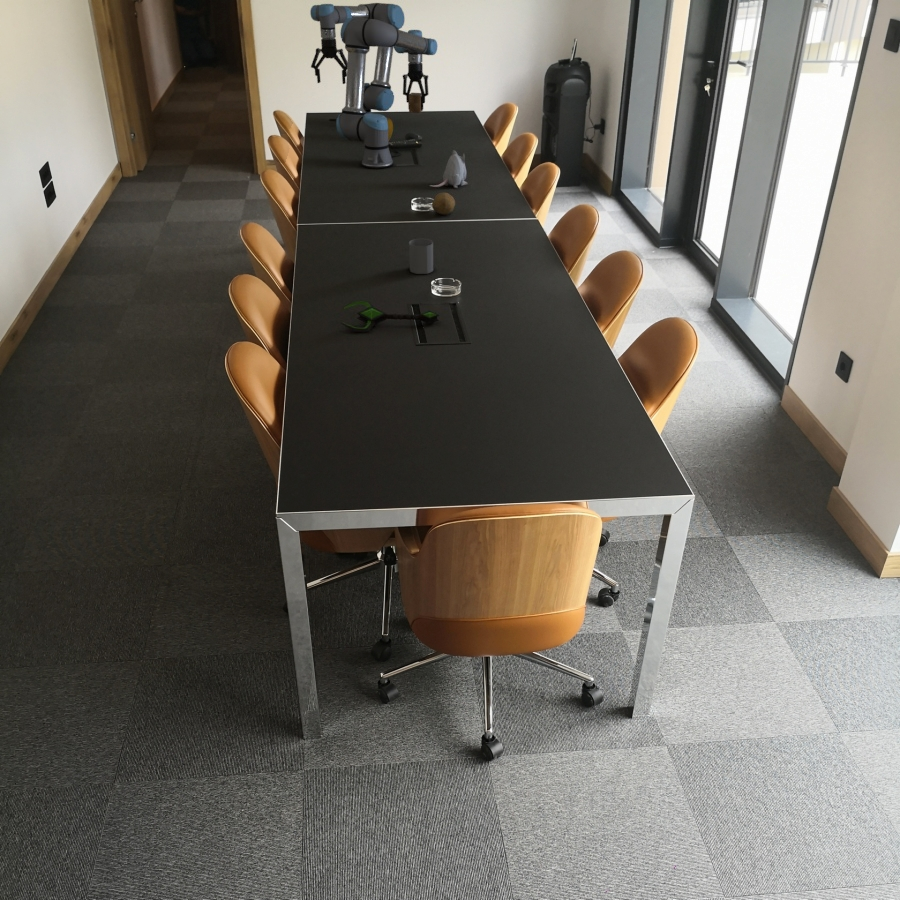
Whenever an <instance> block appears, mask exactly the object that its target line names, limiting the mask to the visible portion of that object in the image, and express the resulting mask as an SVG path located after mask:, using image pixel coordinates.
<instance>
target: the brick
mask: <svg viewBox="0 0 900 900" xmlns="http://www.w3.org/2000/svg"><path fill="white" fill-rule="evenodd" d="M421 97H422V94H421V92H410V94H409V109H408V113H415V114H421V113H422V112H423V111H424V109H423V110H421Z"/></svg>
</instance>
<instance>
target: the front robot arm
mask: <svg viewBox="0 0 900 900" xmlns="http://www.w3.org/2000/svg"><path fill="white" fill-rule="evenodd" d="M340 39H341V42H342V43H343V44H344V49H345V50H346V51H347V62H348V63H347V76H346V81H345V82H346V83H345V104H344V107H343V108H342V109H341V113H339V114H338V116H337V118H336V119H337V120H336V121H335V125H336V130H337V133H338V134H339V136H340V137H341V138H343V139H346V140H349V141H358V142H364V151H363V155H362V159H361V166H362V167H363V168H366V169H371V170H381V169H387V168H390V167H392V166H394V161H393V157H397V156H399V155H400V154H401V153H400V152H399V151H398V150H396V149H395V150H394V153H396V154H391V152H390V151H391V150H390V147H389V145H390V144H389V141H388V122H387V118H388V117H386V116H385V115H383V114H380V113H375V112H374V113H373V112H371V113H367V114H366V111H365V110H364V109H363V98H364V83H365V79H366V61H367V54H368V53H369V52H370V50H371V49H370V47H373V48H374V47H377V48H378V47H379V46H383V47H393V46H394V48H393V50H394V52H395V53H397V54H407V62H408V63H407V73H406V74H405V73H404V74H402V80H403V82H402V83H403V84H402V95H403V96H405V97H406V98H405V99H406V101H405V102H406V103H407V104H408V105H407V106H408V107H407V109H408V110H409V94H410V93H411V91H412V86H413V83H417V85H418V87H419V91H420V93H421V94H422V97H421V110H423V111H424V104H425V103H426V97H427V96H429V81H428V80H429V75H428V74H424V72H423V69H424V68H423V55H424V56H426V55H427V56H435V55H436V54H437V51H438V41H437V40H436V39H434V38H431V37H429V38H428V37H425V36H423V32H422V30H420V29H410V30H408V31H404V30H400V29H399V30H398V29H397V28H396V27H395V26H393V25H390V24H387V23H385V22H382V21H379V20H376V19H365V18H357V17H356V18H348V19H346V20H345V22H344V23H342V24H341V27H340ZM408 78H409V84H407V83H408ZM422 79H423V80H424V82H423V81H422ZM422 82H423V83H422ZM423 84H424V87H423ZM407 85H408V87H407Z"/></svg>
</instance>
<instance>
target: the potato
mask: <svg viewBox="0 0 900 900" xmlns="http://www.w3.org/2000/svg"><path fill="white" fill-rule="evenodd" d="M455 206H456V200H455V198H454V196H452V195H451V194H449V193H448V192H439V193H437V194H436V195H435V197H434V198H433V200H432V201H431V207H432V209H433V210H434V212H436V213H437V214H439V215H441V216H442V215H449V214H450V213H452V212H453V211H454V209H455Z"/></svg>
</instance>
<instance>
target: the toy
mask: <svg viewBox="0 0 900 900" xmlns="http://www.w3.org/2000/svg"><path fill="white" fill-rule="evenodd" d="M466 178H467V168H466V156H465V153H463V154H462V155H459V154H458V153H457V151H456V150H455V149H453V150H452V153H451V155H450V156H449V158H448V161H447V163H446V166H445V170H444V171H443V177H442V179H443V181H442V182H441V183H439V184H436V185H435V184H433V185H432V184H430V185H428V186H429V187H434V188H440V187H443V186H446V187H448V186H449V185H451V186H453V188H455V189H459V187H458V186H461V187H462V186H467V185H468V182H467V181H465V180H466Z"/></svg>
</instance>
